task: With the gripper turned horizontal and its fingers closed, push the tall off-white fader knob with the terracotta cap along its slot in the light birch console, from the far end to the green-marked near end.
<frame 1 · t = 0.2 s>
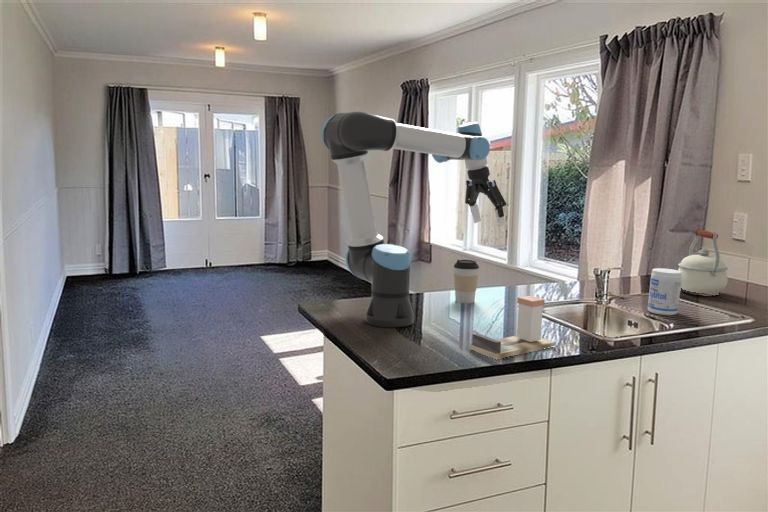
hand: (489, 223, 229), 28 cm above the counter, tool tilted 20°, fingers open, 13 cm apart
tongs: (611, 297, 244), on the counter
supplement tub: (662, 313, 218), on the counter
fader: (529, 318, 174), point 8 cm above the counter, slide at 0.0 cm
console: (512, 348, 172), on the counter
coffee cup: (464, 301, 228), on the counter
kettle: (697, 292, 254), on the counter
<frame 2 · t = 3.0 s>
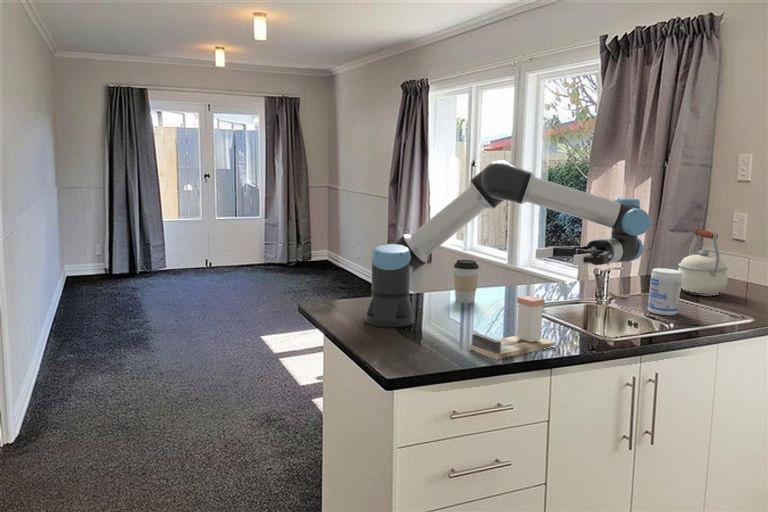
hand: (554, 256, 177), 24 cm above the counter, tool horizontal, fingers open, 13 cm apart
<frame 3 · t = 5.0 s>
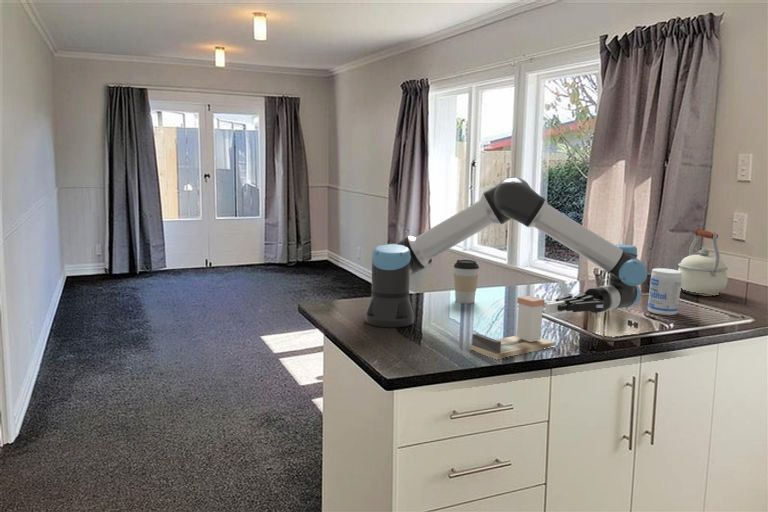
hand: (547, 308, 178), 10 cm above the counter, tool horizontal, fingers closed
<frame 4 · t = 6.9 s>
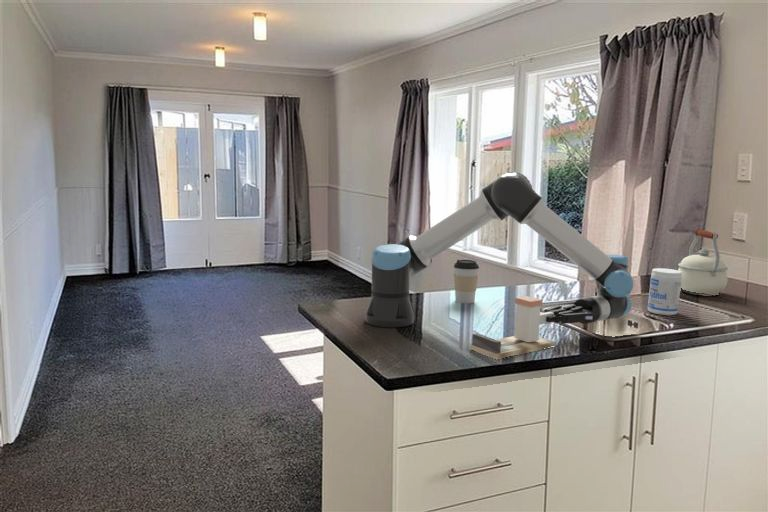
hand: (535, 319, 175), 7 cm above the counter, tool horizontal, fingers closed
fader: (527, 319, 174), point 8 cm above the counter, slide at 0.9 cm, touching gripper
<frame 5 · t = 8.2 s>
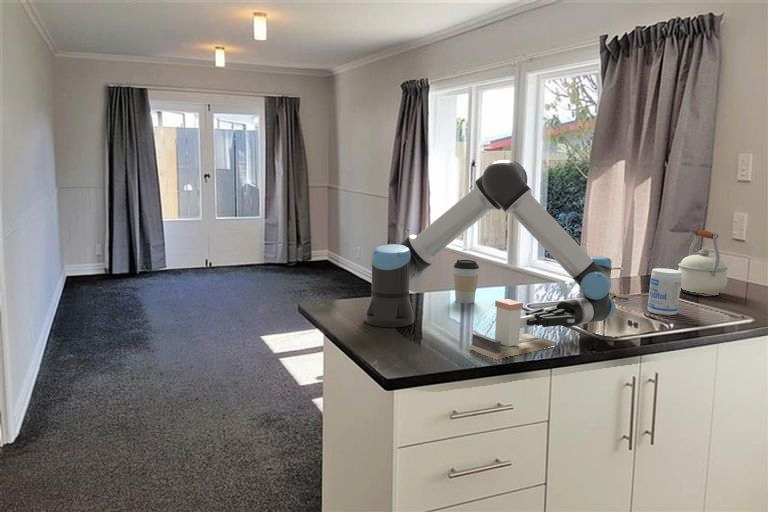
hand: (515, 323, 170), 7 cm above the counter, tool horizontal, fingers closed
fader: (508, 322, 170), point 8 cm above the counter, slide at 8.4 cm, touching gripper
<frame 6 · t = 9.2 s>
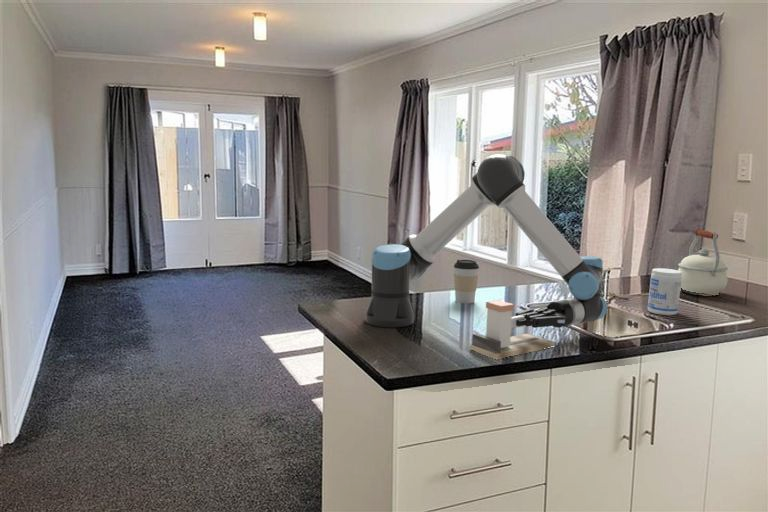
hand: (505, 323, 169), 7 cm above the counter, tool horizontal, fingers closed
fader: (498, 324, 168), point 8 cm above the counter, slide at 11.7 cm, touching gripper
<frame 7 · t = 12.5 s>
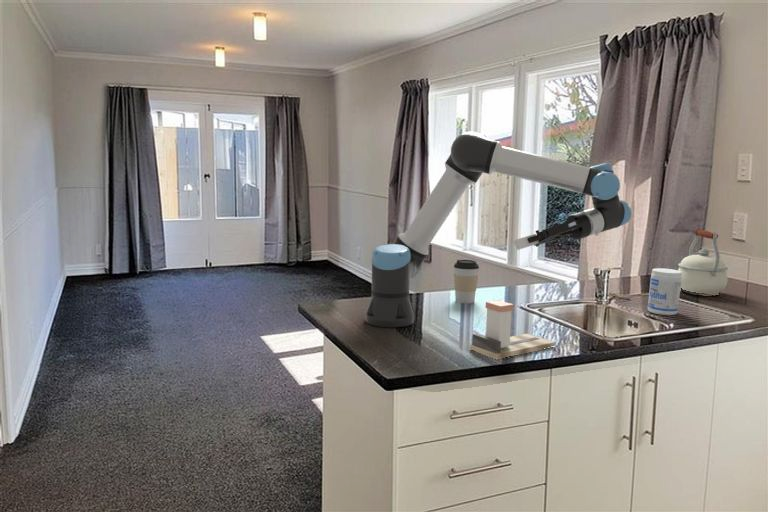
hand: (516, 244, 177), 27 cm above the counter, tool horizontal, fingers closed
fader: (498, 324, 168), point 8 cm above the counter, slide at 11.9 cm
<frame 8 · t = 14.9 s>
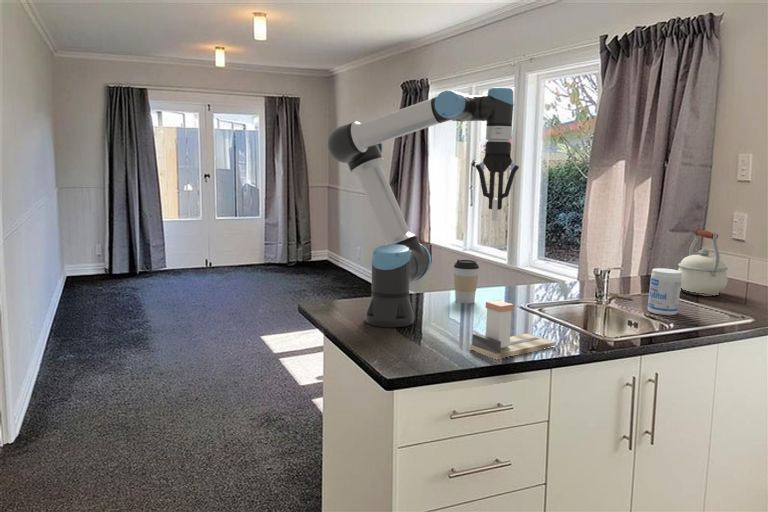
hand: (494, 220, 192), 32 cm above the counter, tool pointing down, fingers closed
at the end: fader slide at 11.9 cm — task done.
